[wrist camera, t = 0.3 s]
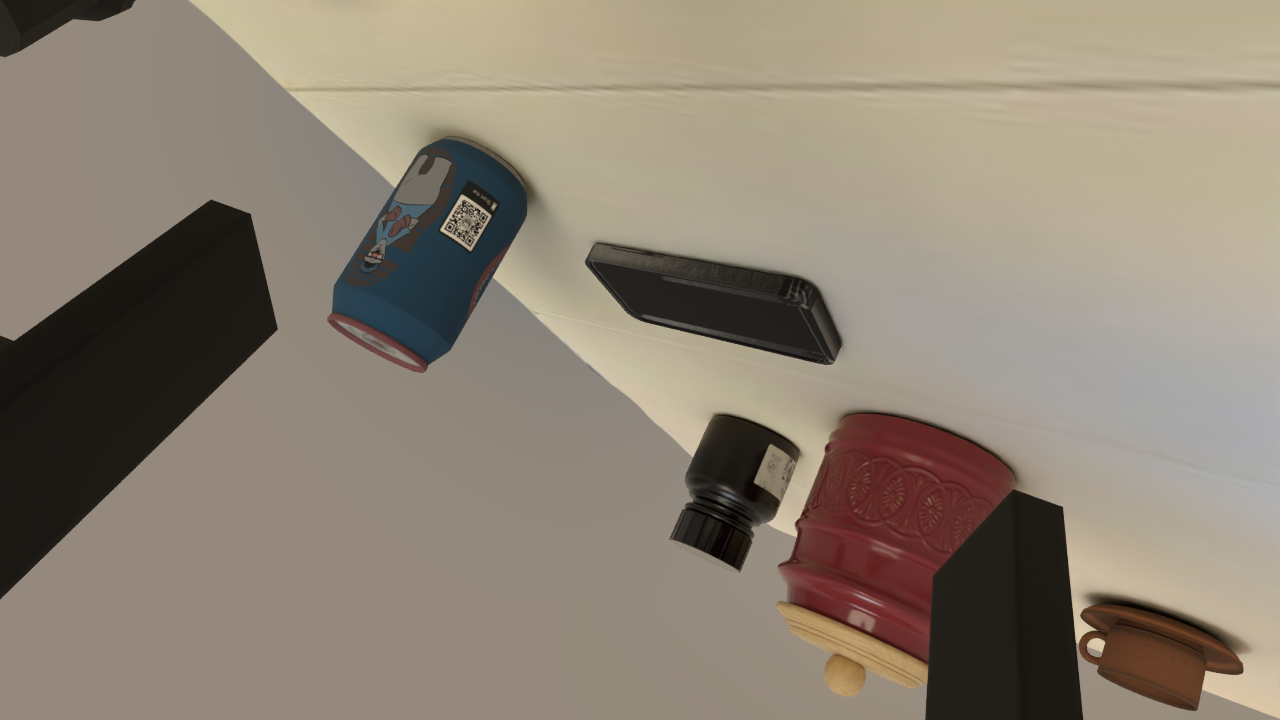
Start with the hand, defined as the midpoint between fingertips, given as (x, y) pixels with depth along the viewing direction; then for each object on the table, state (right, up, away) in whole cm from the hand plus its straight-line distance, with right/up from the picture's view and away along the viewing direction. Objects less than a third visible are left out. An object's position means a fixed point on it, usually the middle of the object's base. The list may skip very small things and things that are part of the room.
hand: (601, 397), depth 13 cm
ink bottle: (+11, -6, +58) cm, 59 cm away
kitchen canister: (+21, -6, +42) cm, 47 cm away
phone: (+5, +5, +33) cm, 34 cm away
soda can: (-8, +12, +31) cm, 35 cm away
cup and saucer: (+47, -22, +54) cm, 75 cm away
